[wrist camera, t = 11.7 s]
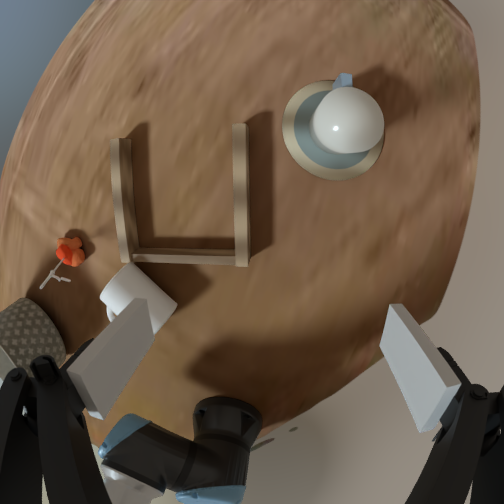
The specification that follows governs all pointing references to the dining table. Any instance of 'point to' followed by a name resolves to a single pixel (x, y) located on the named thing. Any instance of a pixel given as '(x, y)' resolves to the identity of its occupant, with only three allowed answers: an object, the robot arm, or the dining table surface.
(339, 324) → the dining table surface
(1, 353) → the planter
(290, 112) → the coaster
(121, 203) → the wooden u-shaped frame
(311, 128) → the blue handled white cup
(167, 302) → the mug
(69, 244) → the orange lump with branch
